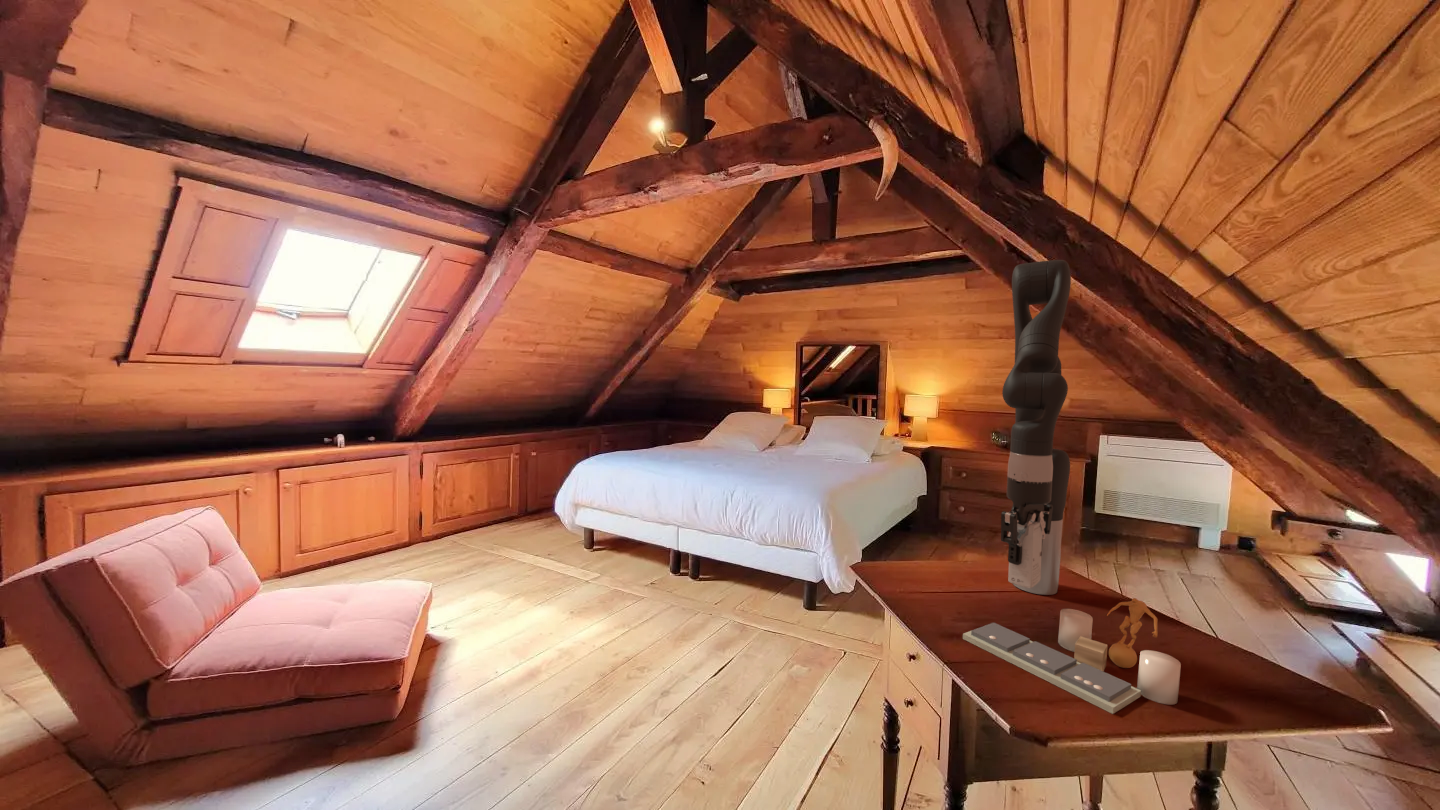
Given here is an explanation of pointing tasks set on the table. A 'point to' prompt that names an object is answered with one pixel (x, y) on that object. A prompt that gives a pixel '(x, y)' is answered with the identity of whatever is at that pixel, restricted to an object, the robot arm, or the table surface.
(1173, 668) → the white pillar candle
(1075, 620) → the white rounded cylinder
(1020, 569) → the skincare box
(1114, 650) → the figurine
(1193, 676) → the table surface
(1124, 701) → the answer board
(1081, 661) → the beech block
